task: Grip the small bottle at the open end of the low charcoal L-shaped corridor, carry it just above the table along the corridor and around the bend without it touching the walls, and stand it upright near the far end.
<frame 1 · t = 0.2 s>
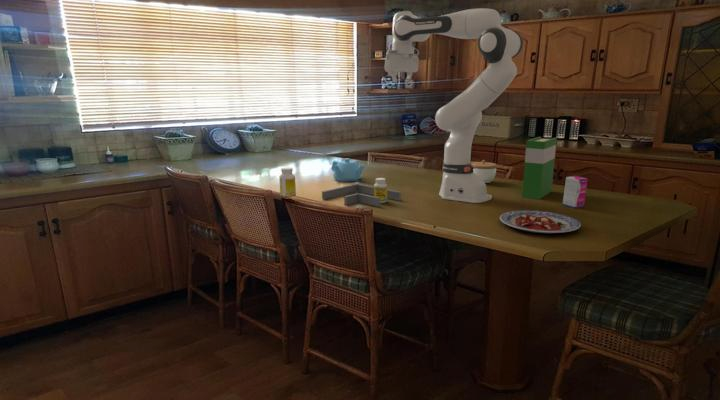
hand: (401, 82, 213), 48 cm above the counter, tool pointing down, fingers open, 8 cm apart
ceramic plate: (538, 227, 161), on the counter
supplement bottle: (288, 198, 201), on the counter
guide walls: (359, 199, 199), on the counter
teapot: (347, 180, 239), on the counter
green white carton: (537, 194, 206), on the counter
lidded bowl: (482, 182, 231), on the counter
supplement bottle 2: (380, 201, 195), on the counter
supplement box: (573, 206, 187), on the counter
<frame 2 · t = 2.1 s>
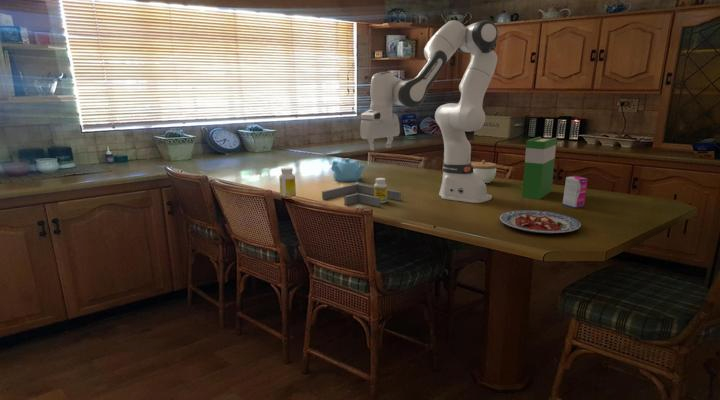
hand: (380, 148, 190), 22 cm above the counter, tool pointing down, fingers open, 8 cm apart
nothing on the counter moved.
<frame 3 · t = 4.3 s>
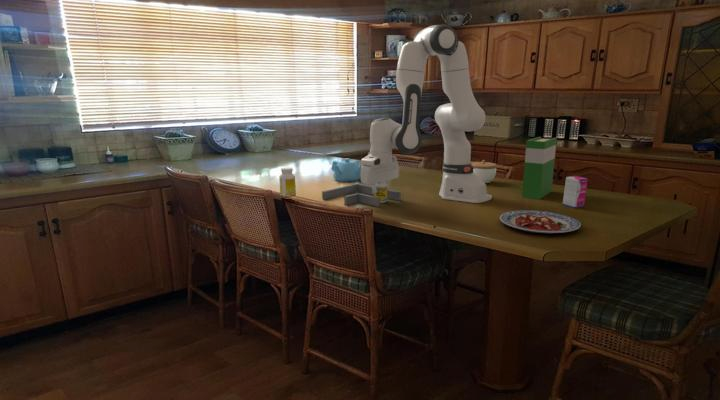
hand: (380, 191, 194), 4 cm above the counter, tool pointing down, fingers closed on supplement bottle 2, 5 cm apart
supplement bottle 2: (380, 201, 195), on the counter, touching gripper
everything else where it was.
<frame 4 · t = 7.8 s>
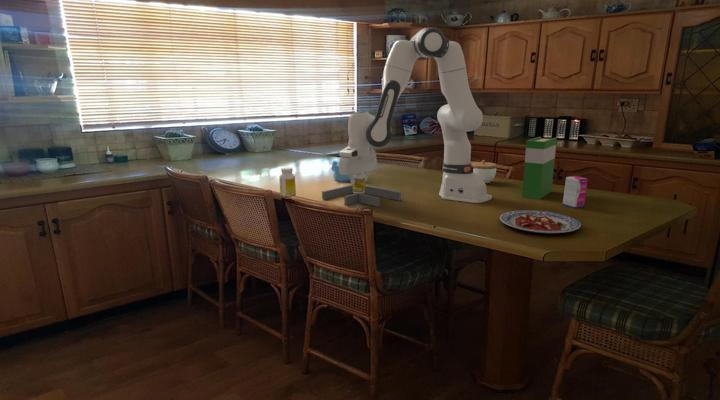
hand: (358, 182, 201), 6 cm above the counter, tool pointing down, fingers closed on supplement bottle 2, 5 cm apart
supplement bottle 2: (358, 192, 202), point 2 cm above the counter, touching gripper
everything else where it was.
when the fingers open (5 cm above the counter, at t = 11.3 s): supplement bottle 2 stays where it is, on the counter.
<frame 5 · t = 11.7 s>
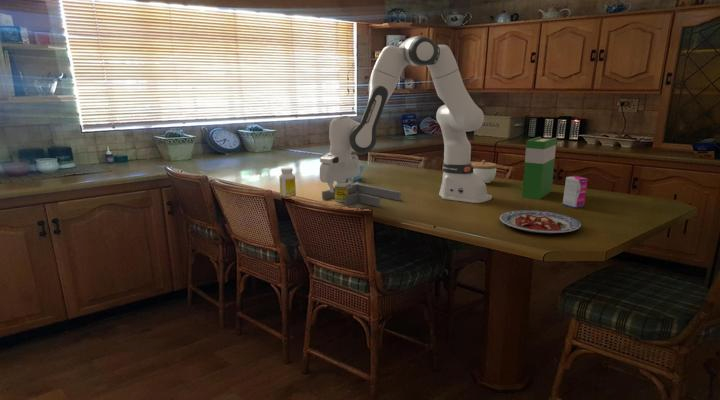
hand: (341, 189, 195), 5 cm above the counter, tool pointing down, fingers open, 8 cm apart
supplement bottle 2: (341, 201, 197), on the counter
everything else where it was.
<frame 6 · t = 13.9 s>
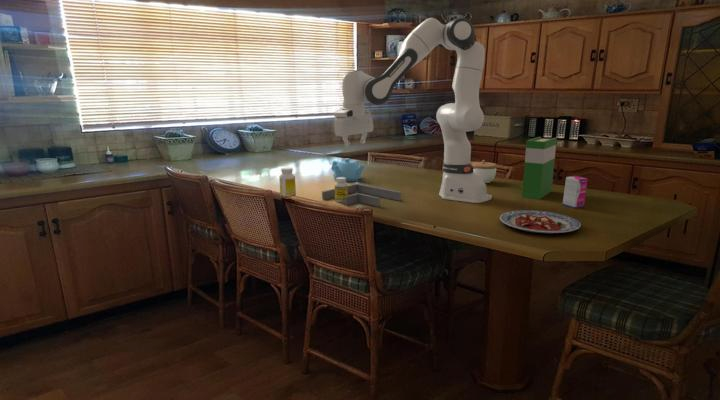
hand: (355, 144, 197), 22 cm above the counter, tool pointing down, fingers open, 8 cm apart
nothing on the counter moved.
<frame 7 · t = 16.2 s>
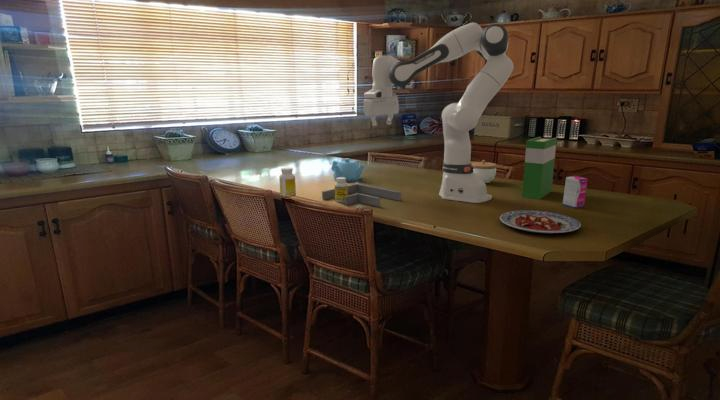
hand: (381, 125, 210), 29 cm above the counter, tool pointing down, fingers open, 8 cm apart
nothing on the counter moved.
at the end: supplement bottle 2 0.1 cm from the target spot, on the counter; supplement bottle 2 tilted 0°; supplement bottle 2 touching counter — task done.
